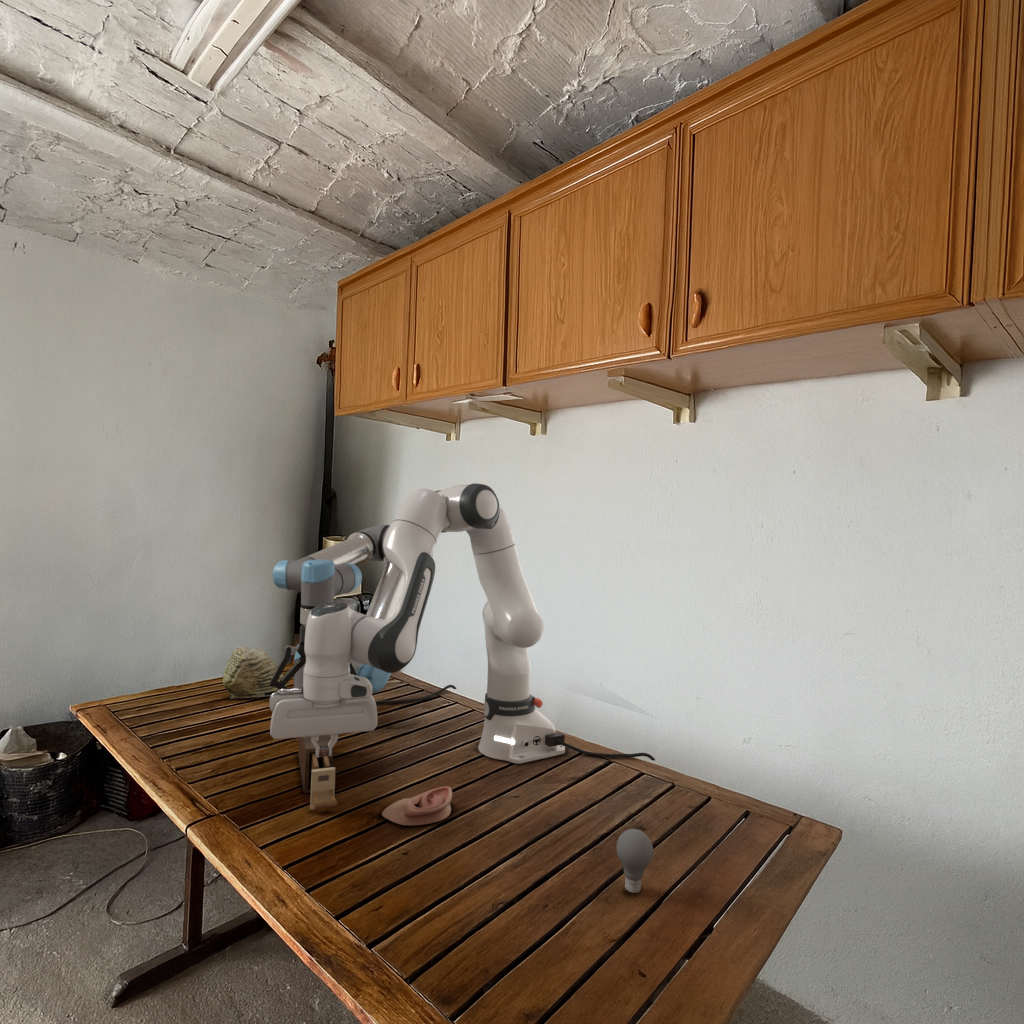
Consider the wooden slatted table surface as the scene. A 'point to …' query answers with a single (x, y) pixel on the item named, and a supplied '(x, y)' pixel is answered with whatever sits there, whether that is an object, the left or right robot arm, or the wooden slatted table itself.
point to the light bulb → (634, 857)
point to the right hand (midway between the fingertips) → (323, 755)
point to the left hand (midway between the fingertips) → (314, 712)
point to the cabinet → (304, 757)
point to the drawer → (321, 783)
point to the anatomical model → (421, 808)
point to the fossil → (249, 673)
